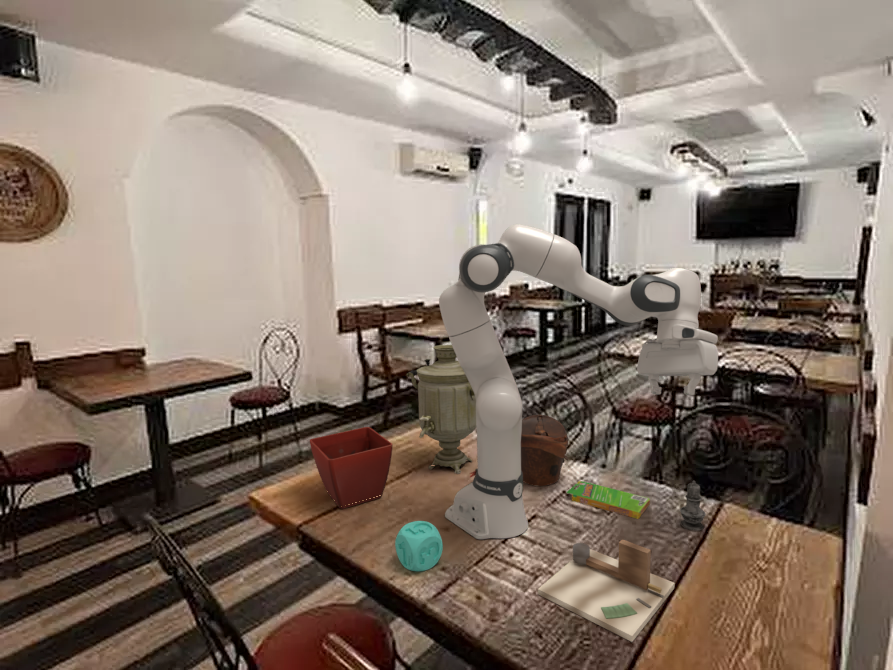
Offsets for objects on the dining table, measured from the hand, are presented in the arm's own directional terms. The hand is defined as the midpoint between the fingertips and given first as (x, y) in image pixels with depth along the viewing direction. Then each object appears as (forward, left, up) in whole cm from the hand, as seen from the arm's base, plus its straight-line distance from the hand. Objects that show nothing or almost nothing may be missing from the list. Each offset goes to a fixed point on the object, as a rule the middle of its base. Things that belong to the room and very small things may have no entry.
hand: (671, 394), depth 120 cm
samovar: (-71, -4, -36) cm, 80 cm away
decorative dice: (-38, -46, -36) cm, 70 cm away
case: (-42, +9, -36) cm, 56 cm away
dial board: (-1, -28, -36) cm, 46 cm away
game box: (-19, +8, -36) cm, 42 cm away
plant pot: (-77, -36, -36) cm, 93 cm away
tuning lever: (-2, -24, -34) cm, 42 cm away
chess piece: (+3, +10, -36) cm, 37 cm away
